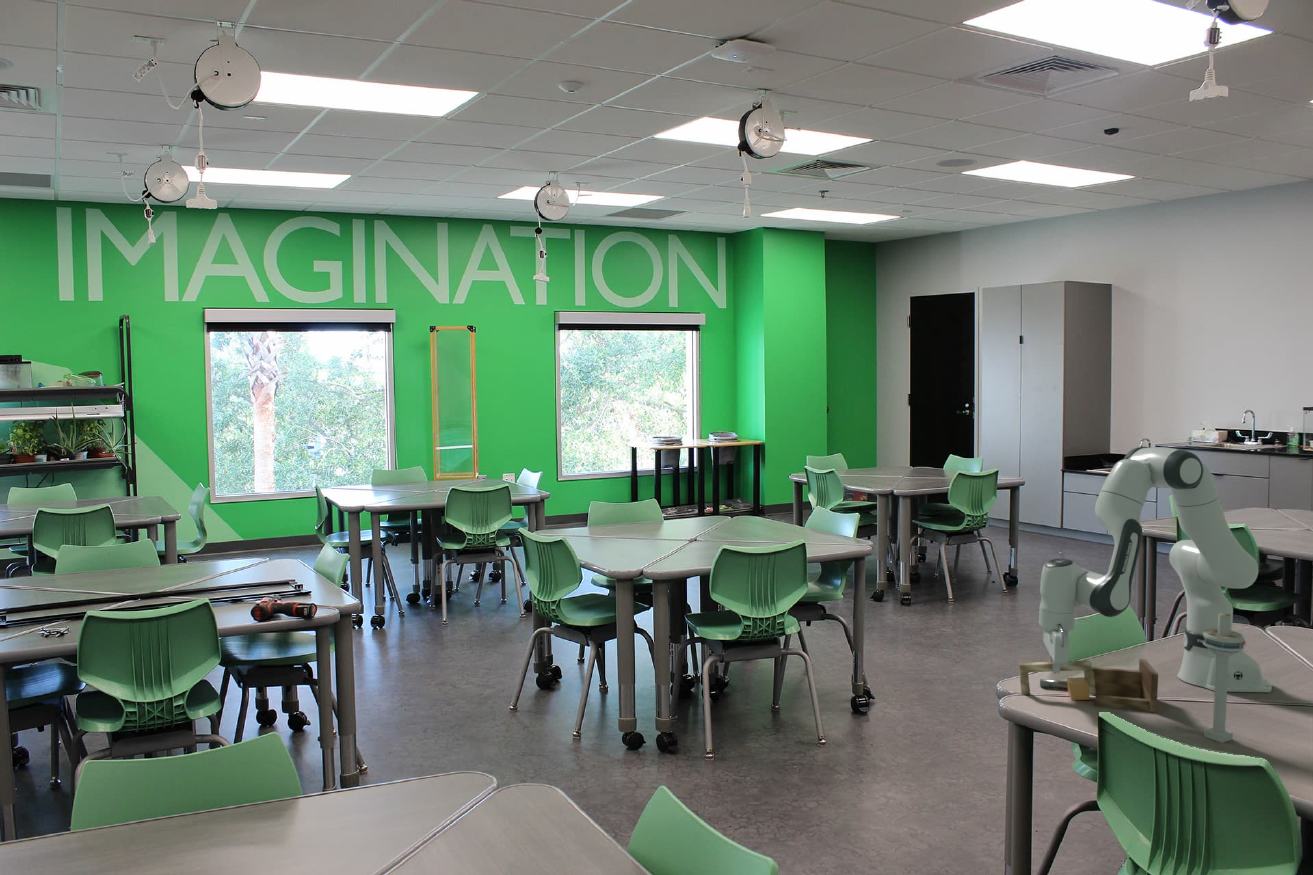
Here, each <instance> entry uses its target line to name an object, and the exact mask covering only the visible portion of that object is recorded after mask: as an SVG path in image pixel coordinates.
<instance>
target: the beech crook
mask: <svg viewBox="0 0 1313 875" xmlns="http://www.w3.org/2000/svg"><path fill="white" fill-rule="evenodd" d="M1092 663H1093V662H1092V660H1090V659H1089V660H1087V659H1086V660H1084V659H1082V660H1069V663H1068V664H1067V665H1065V664H1061V667H1060V672H1068V671H1069V672H1070V671H1071V672H1072V671H1073V672H1074V671H1083V676H1084V677H1085V678H1086V680H1087V682H1088V687H1089V696H1090V695H1092V696H1096V695H1097V694H1096V691H1095V681H1094V672H1093V670H1092V667H1093V665H1092ZM1052 665H1053V662H1050V661H1043V662H1042V661H1039V662H1036V661H1035V662H1018V671H1019V673H1018V674H1019V684H1020V693H1021V694H1022V695H1030V694H1031V688H1030V679H1029V673H1046V672H1049V673H1050V672H1053V671H1052Z"/></svg>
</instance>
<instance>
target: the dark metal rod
mask: <svg viewBox="0 0 1313 875" xmlns="http://www.w3.org/2000/svg"><path fill="white" fill-rule="evenodd" d="M1039 685H1040V688H1041V689H1051V690H1053V689H1054V690H1067V691H1068V684H1067V680H1058V679H1047V678H1046V679H1044V678H1040V681H1039Z"/></svg>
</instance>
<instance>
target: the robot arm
mask: <svg viewBox="0 0 1313 875" xmlns="http://www.w3.org/2000/svg"><path fill="white" fill-rule="evenodd" d="M1153 487H1154V488H1159V489H1163V488H1164V489H1170V490H1171V495H1172V499H1173V504H1174V508H1175V512H1176V515H1177V519H1178V523H1179V527H1180V529H1181V530H1182V532H1183V533H1184V534H1185V535H1186V536H1187V537H1189V539H1182V540H1179V541H1177V542H1176V543H1174V544H1173V545H1172V547H1171V549H1170V552H1169V554H1168V560H1169V563H1170V566H1171V568H1172V569H1174V571H1175V572H1176V573H1177V575H1178V577H1179V579H1180V581H1181V584H1182V587H1183V591H1184V593H1185V594H1184V595H1185V597H1186V627H1185V628H1184V633H1183V648H1184V651H1183V657H1182V661H1181V665H1180V668H1179V671H1178V673H1177V678H1179V680H1181V681H1183V682H1185V683H1188V684H1191V685H1194V686H1198V687H1202V688H1205V689H1208V690H1210V691H1214V692H1215V675H1216V655H1215V654H1214V653H1213V652H1212V651H1211V650H1209V649H1208V648H1207V647H1206V646H1205V645H1204V644H1203V640H1205V639H1204V636H1203V632H1204V631H1205V630H1207V629H1218V614H1219V613H1225V614H1230V615H1231V622H1230V631H1233V620H1234V619H1233V618H1234V616H1233V615H1234V608H1233V604H1232V603H1231V602H1230V600H1229V599H1228V598H1227V596H1226V595H1225V593H1224V592H1223V589H1222V588H1225V589H1246V588H1248V587H1250V586H1252V585H1253V584H1254V583H1255V582H1256V580H1257V578H1258V575H1259V564H1258V561H1257V560H1256V559H1255V558H1254V556H1252V555H1251V553H1250V554H1249V552H1248V551H1246V549H1244V547H1243V546H1242V545H1241V543H1239V541H1238V540H1237V539H1236V537H1235V535H1234V534H1233V532H1232V530H1231V528H1230V526H1229V524H1228V523H1227V519H1226V517H1225V513H1224V510H1223V507H1222V503H1221V500H1220V495H1219V491H1218V488H1217V485H1216V483H1215V479H1214V477H1213V474H1212V472H1211V471H1210V468H1209V467H1208V465H1207V464H1206V463H1204V462H1203V461H1202V460H1201V459H1200V458H1199V457H1198V456H1197V454H1195V453H1193V452H1191V451H1189V450H1185V449H1177V448H1171V447H1165V446H1162V447H1161V446H1159V447H1152V446H1151V447H1149V446H1139V447H1138V446H1137V447H1135V448H1132V449H1131V450H1129V451H1128V452H1127V453H1126V454H1125V456H1124V457H1123V459H1121V460H1119V461H1117V462H1116V463H1115V464H1114V465H1113V467H1112V468H1111V470H1110V471H1109V474H1107V476H1106V478H1105V481H1104V482H1103V485H1102V487H1101V488H1100V491H1099V494H1098V497H1097V499H1096V501H1095V506H1094V507H1095V508H1094V514H1095V517H1096V519H1097V521H1098V522H1099V524H1100V525H1101V526H1102V527H1103V528H1104V529H1105V530H1106V531H1108V533H1109V534H1110V535H1111V536H1112V538H1113V541H1114V547H1113V551H1112V556H1111V559H1110V564H1109V566H1108V567H1109V568H1108V570H1107V573H1106V574H1105V575H1104V574H1101V573H1098V572H1096V571H1091V570H1088V569H1087V568H1083V567H1081V566H1079V565H1078V564H1076V563H1075V562H1074V560H1071V559H1069V558H1053V559H1050V560H1048V561H1046V562H1045V563H1044V565H1043V566H1042V570H1041V576H1040V586H1039V587H1040V590H1039V593H1040V597H1041V598H1040V604H1039V610H1038V611H1039V612H1038V613H1039V614H1038V615H1039V616H1038V625H1039V626H1040V627H1042V628H1041V635H1042V642H1043V644H1044V645H1045V648H1046V650H1047V651H1048V654H1049V662H1053V665H1052V671H1051V672H1052V673H1053V674H1060V673H1061V671H1060V667H1061V664H1065V665H1067V664H1068V663H1069V661H1070V637H1069V635H1070V631H1072V630H1074V629H1075V627H1076V626H1075V625H1076V607H1077V606H1082V607H1083V608H1087V609H1089V610H1092V611H1094V612H1096V613H1098V614H1100V615H1102V616H1104V617H1106V618H1107V617H1108V618H1115V617H1117V616H1119V615H1121V614H1122V613H1123V612H1125V611H1126V610H1127V608H1128V607H1129V605H1130V603H1131V598H1132V584H1133V579H1134V575H1135V570H1136V566H1137V562H1138V557H1139V555H1140V549H1141V545H1142V539H1143V527H1142V525H1141V515H1142V510H1143V508H1144V505H1145V503H1146V499H1147V496H1148V493H1149V491H1150V490H1151V489H1152V488H1153ZM1246 644H1247V642H1246V640H1244V642H1243V644H1242V645H1243V646H1244V647H1245V645H1246ZM1272 688H1273V687H1272V685H1271V683H1270V681H1268V680H1266V678H1263V671H1262V668H1261V666H1260V664H1259V663H1258V662H1257V661H1256V660H1255V659H1254V658H1253V657H1252V656H1250V655H1249V654H1248V653H1247V652H1245V651H1244V649H1243V650H1241V651H1239V652H1238V653H1236V654H1234V655H1232V656H1230V657H1229V662H1228V682H1227V693H1229V692H1231V693H1233V692H1234V693H1235V692H1236V693H1237V692H1238V693H1271V692H1272V690H1273V689H1272Z"/></svg>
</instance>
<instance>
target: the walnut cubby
mask: <svg viewBox="0 0 1313 875" xmlns="http://www.w3.org/2000/svg"><path fill="white" fill-rule="evenodd" d="M1138 661H1139V662H1138V665H1139V666H1138V670H1136V669H1135V670H1134V669H1123V668H1110V667H1109V668H1107V667H1094V666H1092V670H1093V672H1094V681H1095V691H1096V695H1095V706H1096V707H1099V708H1100V707H1103V708H1113V709H1115V708H1116V709H1125V710H1135V711H1136V710H1138V711H1149V712H1150V713H1155V714H1156V713H1157V709H1158V708H1157V707H1158V693H1159V692H1158V690H1159V689H1158V688H1159V687H1158V686H1159V673H1158V672H1157V671H1156V670H1155V669H1154V668H1153V666H1152V665H1151V663H1150V662H1149V661H1148V660H1147V659H1146V658H1139V660H1138Z"/></svg>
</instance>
